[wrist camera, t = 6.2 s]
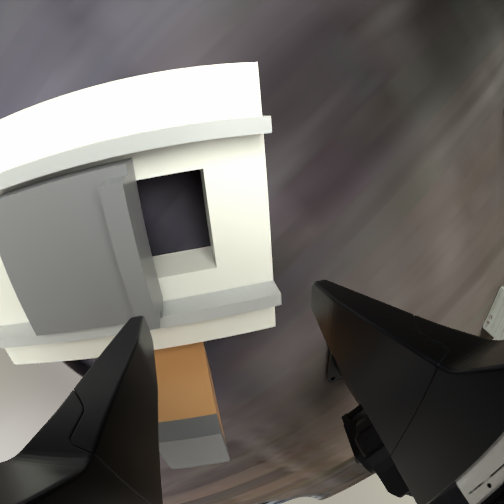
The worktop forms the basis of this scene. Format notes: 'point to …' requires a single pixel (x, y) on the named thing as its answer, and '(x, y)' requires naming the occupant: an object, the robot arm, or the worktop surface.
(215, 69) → the socket
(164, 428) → the grey orange block
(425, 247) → the worktop surface
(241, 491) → the worktop surface
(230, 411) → the worktop surface
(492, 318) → the supplement box
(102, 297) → the shutter
